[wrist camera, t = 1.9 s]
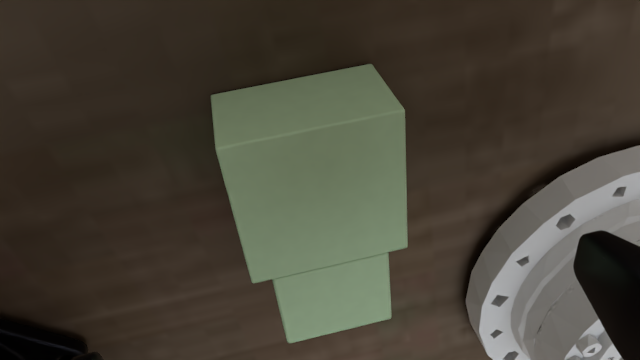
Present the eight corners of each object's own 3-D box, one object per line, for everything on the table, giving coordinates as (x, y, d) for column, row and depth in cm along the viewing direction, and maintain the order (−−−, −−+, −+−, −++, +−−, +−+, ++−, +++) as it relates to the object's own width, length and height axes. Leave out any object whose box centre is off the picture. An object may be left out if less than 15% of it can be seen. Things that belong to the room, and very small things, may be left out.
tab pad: (210, 94, 13) (214, 148, 11) (371, 62, 13) (406, 109, 11) (259, 284, 17) (269, 349, 15) (383, 255, 17) (409, 315, 15)
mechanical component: (438, 363, 21) (653, 331, 23) (489, 475, 18) (737, 427, 20) (501, 147, 16) (778, 129, 18) (595, 249, 12) (928, 212, 14)
